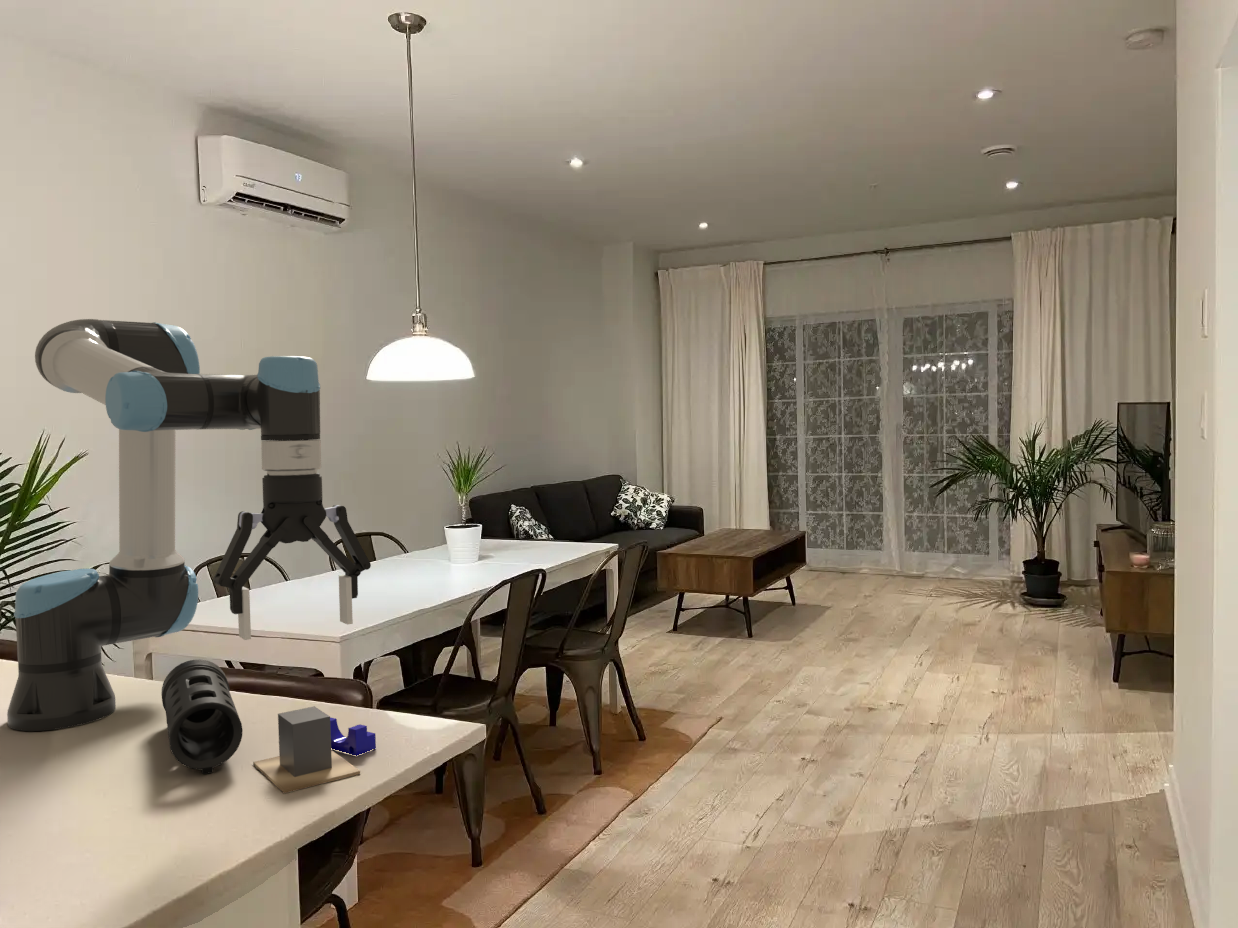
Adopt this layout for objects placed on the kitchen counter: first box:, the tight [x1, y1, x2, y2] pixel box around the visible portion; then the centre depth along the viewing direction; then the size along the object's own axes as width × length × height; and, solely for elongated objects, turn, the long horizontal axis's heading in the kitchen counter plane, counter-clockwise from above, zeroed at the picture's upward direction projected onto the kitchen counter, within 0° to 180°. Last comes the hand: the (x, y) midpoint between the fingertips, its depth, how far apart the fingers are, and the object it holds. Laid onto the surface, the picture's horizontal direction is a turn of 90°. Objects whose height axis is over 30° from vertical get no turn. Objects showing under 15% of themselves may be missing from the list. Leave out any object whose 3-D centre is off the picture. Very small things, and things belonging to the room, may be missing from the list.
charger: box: [277, 705, 332, 777], centre depth 126 cm, size 8×5×7 cm, turn 38°
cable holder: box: [330, 716, 377, 756], centre depth 133 cm, size 8×4×4 cm, turn 56°
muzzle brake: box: [160, 659, 243, 775], centre depth 136 cm, size 10×28×10 cm, turn 28°
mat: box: [252, 750, 361, 794], centre depth 125 cm, size 13×10×1 cm
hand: (297, 630), depth 125 cm, fingers open, 13 cm apart
